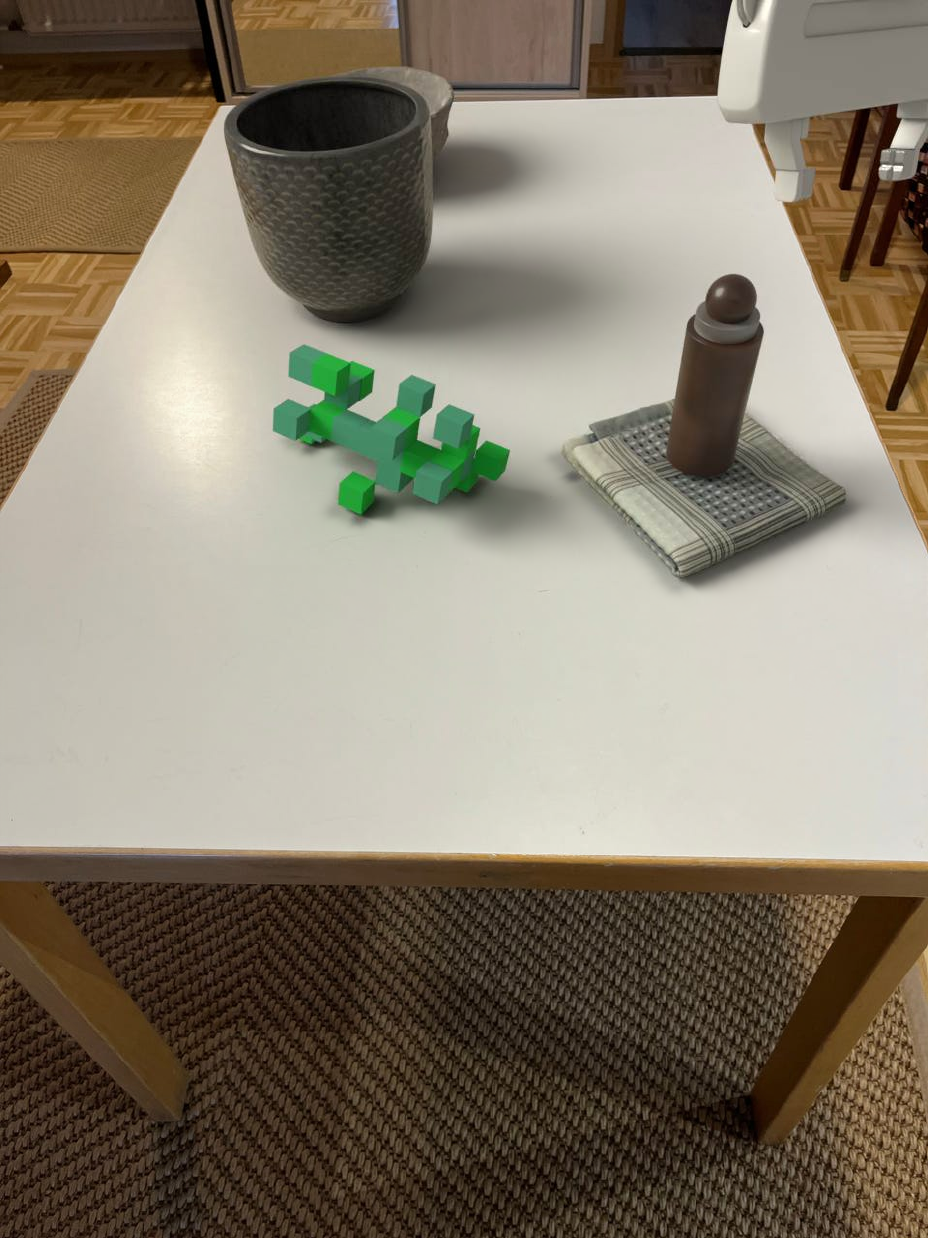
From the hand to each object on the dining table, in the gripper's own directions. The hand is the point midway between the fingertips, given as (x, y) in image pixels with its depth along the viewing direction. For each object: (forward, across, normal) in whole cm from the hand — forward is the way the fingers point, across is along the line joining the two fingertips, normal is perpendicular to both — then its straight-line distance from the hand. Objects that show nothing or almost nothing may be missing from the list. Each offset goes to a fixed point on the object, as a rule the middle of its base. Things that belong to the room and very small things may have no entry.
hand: (845, 189), depth 59 cm
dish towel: (+24, -1, +11) cm, 26 cm away
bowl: (+5, +4, +78) cm, 79 cm away
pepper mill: (+21, -1, +10) cm, 24 cm away
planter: (+13, -12, +54) cm, 57 cm away
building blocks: (+22, -23, +26) cm, 41 cm away
